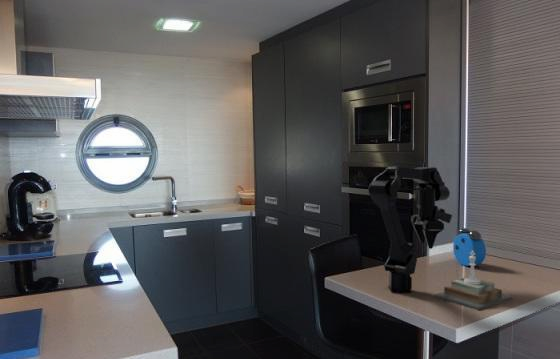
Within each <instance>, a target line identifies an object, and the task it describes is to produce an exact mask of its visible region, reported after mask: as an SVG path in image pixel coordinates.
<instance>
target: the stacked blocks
mask: <svg viewBox="0 0 560 359" xmlns="http://www.w3.org/2000/svg"><path fill="white" fill-rule="evenodd" d="M465 278H469V277H468V276H467V277H462V278H459V279H456V280H451V284H450V285H448V286H444V287H443V289H444V290H443V292H444V294H446V295H450V296H453V297H456V298H460V299H463V300H467V301H470V302H474V303H477V304H482V303H485V302H488V301H491V300H494V299H497V298H500V297H501V296H502V294H503V293H502V289H499V288H496V287H495V283H494V282H490V281H487V280H482V279H479V280H480V282H481V283H480V284H468V283H465V282H464V279H465Z"/></svg>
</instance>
